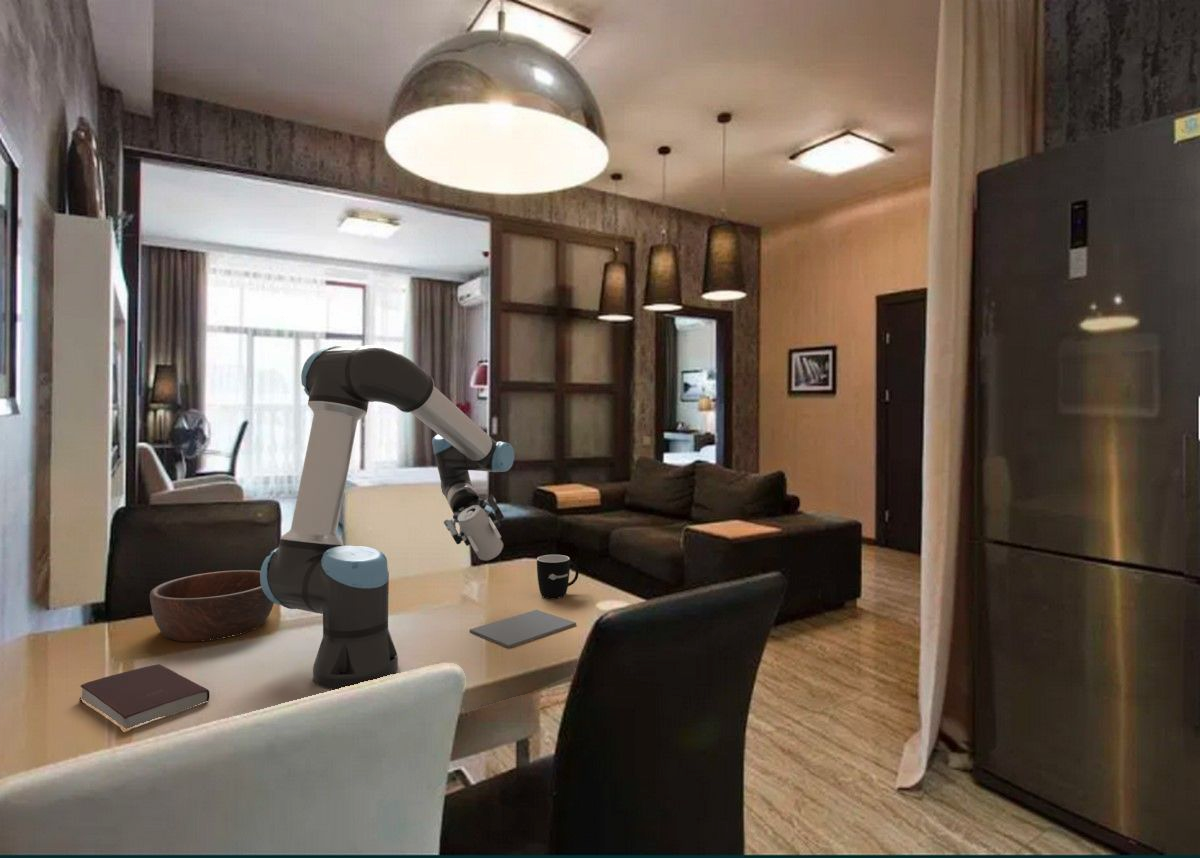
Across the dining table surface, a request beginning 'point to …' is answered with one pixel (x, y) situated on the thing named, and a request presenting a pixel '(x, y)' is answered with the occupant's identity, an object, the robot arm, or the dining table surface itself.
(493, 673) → the dining table surface
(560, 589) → the mug
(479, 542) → the beverage can
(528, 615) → the mat
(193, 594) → the wooden bowl
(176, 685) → the book
